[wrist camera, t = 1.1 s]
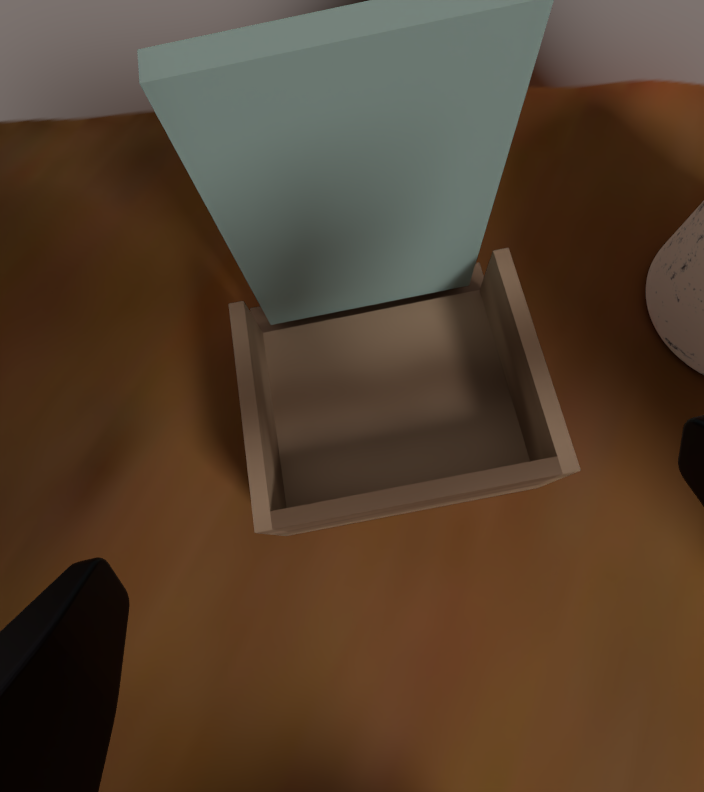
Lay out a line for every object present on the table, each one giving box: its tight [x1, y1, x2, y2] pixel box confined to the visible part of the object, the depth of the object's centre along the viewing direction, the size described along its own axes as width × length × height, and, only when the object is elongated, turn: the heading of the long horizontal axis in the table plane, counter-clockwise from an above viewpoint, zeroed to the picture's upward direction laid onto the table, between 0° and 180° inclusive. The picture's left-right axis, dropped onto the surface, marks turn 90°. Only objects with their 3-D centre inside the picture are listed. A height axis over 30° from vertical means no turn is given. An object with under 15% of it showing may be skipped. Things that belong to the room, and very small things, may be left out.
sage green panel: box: [138, 0, 554, 325], centre depth 17 cm, size 2×9×12 cm, turn 100°
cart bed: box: [229, 248, 581, 536], centre depth 20 cm, size 10×11×5 cm
